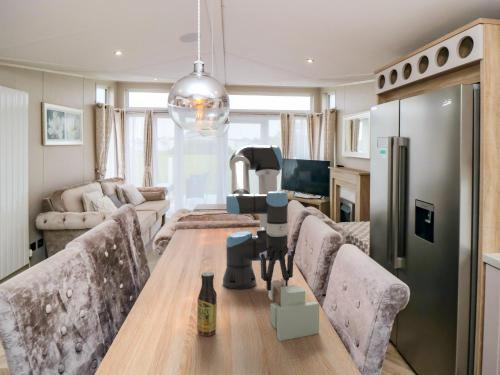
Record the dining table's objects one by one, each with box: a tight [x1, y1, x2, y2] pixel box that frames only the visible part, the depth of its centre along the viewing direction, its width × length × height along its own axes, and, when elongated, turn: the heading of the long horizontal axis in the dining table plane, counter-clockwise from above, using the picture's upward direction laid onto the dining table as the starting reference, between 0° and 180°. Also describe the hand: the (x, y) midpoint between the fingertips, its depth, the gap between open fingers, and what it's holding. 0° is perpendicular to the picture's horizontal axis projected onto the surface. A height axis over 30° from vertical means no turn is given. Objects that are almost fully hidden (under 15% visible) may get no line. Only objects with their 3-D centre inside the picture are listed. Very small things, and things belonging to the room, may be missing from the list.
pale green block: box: [269, 284, 320, 342], centre depth 118 cm, size 12×14×14 cm
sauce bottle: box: [196, 271, 218, 337], centre depth 115 cm, size 7×6×20 cm
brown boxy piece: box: [267, 279, 284, 307], centre depth 126 cm, size 12×4×6 cm, turn 21°
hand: (277, 297), depth 129 cm, fingers closed on brown boxy piece, 4 cm apart
